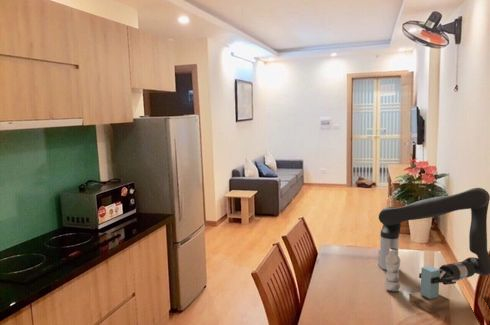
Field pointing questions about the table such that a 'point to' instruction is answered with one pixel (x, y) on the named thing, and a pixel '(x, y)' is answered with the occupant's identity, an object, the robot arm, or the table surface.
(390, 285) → the plastic bottle
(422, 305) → the walnut block
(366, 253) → the table surface
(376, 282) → the table surface
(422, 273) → the blue block
